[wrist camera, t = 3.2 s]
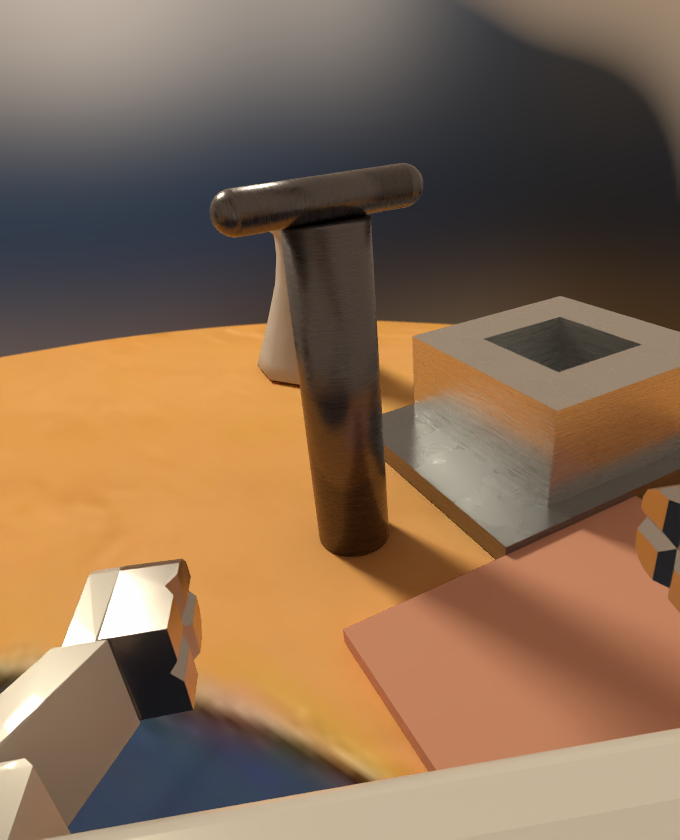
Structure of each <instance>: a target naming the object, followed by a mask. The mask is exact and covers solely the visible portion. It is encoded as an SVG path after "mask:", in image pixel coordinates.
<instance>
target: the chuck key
mask: <svg viewBox="0 0 680 840" xmlns="http://www.w3.org/2000/svg"><path fill="white" fill-rule="evenodd" d="M422 189H423V179H422V176H421V174H420V172H419V171H418V170H417V169H416V168H415V167H414V166H412V165H410V164H406V163H401V164H393V165H386V166H380V167H373V168H367V169H360V170H353V171H346V172H339V173H332V174H325V175H319V176H312V177H305V178H298V179H291V180H284V181H278V182H271V183H264V184H257V185H251V186H245V187H237V188H230V189H226V190H223V191H221V192H219V193H218V194H217V195H216V196H215V197H214V199H213V201H212V203H211V207H210V217H211V220H212V223H213V225H214V226H215V228H216V229H217V230H218V231H219V232H221V233H222V234H224V235H226V236H229V237H241V236H247V235H253V234H258V233H264V232H269V231H275V230H280V237H281V244H282V252H283V260H284V267H285V275H286V283H287V291H288V298H289V306H290V314H291V321H292V329H293V337H294V344H295V352H296V360H297V367H298V375H299V383H300V390H301V398H302V406H303V413H304V421H305V429H306V437H307V444H308V452H309V460H310V467H311V475H312V483H313V490H314V498H315V506H316V513H317V521H318V529H319V536H320V541H321V543H322V545H323V546H324V547H325V548H326V549H327V550H329V551H330V552H332V553H335V554H338V555H342V556H362V555H366V554H369V553H371V552H374V551H375V550H377V549H379V548H380V547H381V546H382V545H383V544H384V543H385V542H386V540H387V538H388V535H389V526H388V508H387V491H386V474H385V457H384V440H383V423H382V405H381V388H380V371H379V354H378V337H377V320H376V302H375V285H374V268H373V251H372V234H371V217H370V216H369V215H366V214H370V213H376V212H381V211H386V210H392V209H397V208H404V207H407V206H410V205H412V204H413V203H415V202H416V201H417V200H418V198H419V197H420V195H421V193H422Z"/></svg>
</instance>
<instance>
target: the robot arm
mask: <svg viewBox="0 0 680 840" xmlns="http://www.w3.org/2000/svg"><path fill="white" fill-rule="evenodd" d="M641 509H642V511H643V512H644V513H645V515H646V516H647V518H646V519H645V520H644V521H643V522H642V523H641V525H640V526H639V527H638V528H637V533H636V541H635V545H636V550H637V555H638V559H639V561H640V563H641V565H642V567H643V569H644V570H645V572H646V573H647V574H648V575H649V577H650V578H651V579H652V580H653V581H655V582H657V583H659V584H662V585H664V586H666V587H668V600H669V601H670V602H671V603H672V604H673V606H674V607H675V608H676V609H677V610H678V611H679V613H680V484H678V485H672V486H665V487H659V488H652V489H648V490H647V492H646V493H645V495H644V496H643V500H642V505H641ZM190 577H191V576H190V573H189V570H188V567H187V564H186V561H184V560H183V559H176V560H168V561H160V562H153V563H145V564H137V565H129V566H124V567H117V568H109V569H102V570H94V571H93V572H92V573H91V574H90V575H89V576H88V577H87V580H86V583H85V585H84V588H83V591H82V593H81V596H80V599H79V601H78V604H77V606H76V609H75V612H74V614H73V617H72V620H71V622H70V625H69V628H68V630H67V633H66V635H65V638H64V641H63V643H62V646H61V647H56V648H52V649H51V650H49V651H48V652H47V653H46V654H45V655H44V656H43V657H42V658H40V659H39V660H38V661H37V662H36V663H35V664H34V665H33V666H31V667H30V668H29V669H28V670H27V671H26V672H25V673H24V674H23V675H21V676H20V677H19V678H18V679H17V680H16V681H15V682H14V683H12V684H11V685H10V686H9V687H8V688H7V689H6V690H5V691H3V692H2V693H1V694H0V840H680V728H676V729H670V730H665V731H659V732H653V733H648V734H642V735H636V736H630V737H625V738H619V739H613V740H608V741H602V742H596V743H590V744H585V745H579V746H573V747H567V748H562V749H556V750H550V751H545V752H539V753H533V754H527V755H522V756H516V757H510V758H504V759H499V760H493V761H487V762H481V763H476V764H470V765H464V766H458V767H453V768H447V769H441V770H435V771H430V772H424V773H418V774H412V775H407V776H401V777H395V778H390V779H384V780H378V781H372V782H367V783H361V784H355V785H350V786H344V787H338V788H332V789H327V790H321V791H315V792H309V793H304V794H298V795H292V796H287V797H281V798H275V799H269V800H264V801H258V802H252V803H247V804H241V805H235V806H229V807H224V808H218V809H212V810H207V811H201V812H195V813H189V814H184V815H178V816H172V817H166V818H161V819H155V820H149V821H144V822H138V823H132V824H126V825H121V826H115V827H109V828H104V829H98V830H92V831H86V832H81V833H75V834H71V833H70V832H69V830H68V828H67V827H68V826H69V824H70V823H71V822H72V820H73V819H74V817H75V816H76V814H77V813H78V812H79V810H80V809H81V807H82V806H83V804H84V803H85V802H86V800H87V799H88V797H89V796H90V794H91V793H92V792H93V790H94V789H95V787H96V786H97V784H98V783H99V782H100V780H101V779H102V777H103V776H104V775H105V773H106V772H107V770H108V769H109V767H110V766H111V765H112V763H113V762H114V760H115V759H116V757H117V756H118V755H119V753H120V752H121V750H122V749H123V747H124V746H125V745H126V743H127V742H128V740H129V739H130V737H131V736H132V735H133V733H134V732H135V730H136V729H137V727H138V726H139V725H140V721H139V720H144V719H149V718H155V717H160V716H165V715H170V714H175V713H180V712H186V711H191V710H194V701H195V693H196V685H197V677H198V674H197V670H196V667H195V663H194V659H195V658H196V656H197V655H198V654H199V653H200V650H201V640H202V629H201V616H200V609H199V605H198V601H197V597H196V596H195V595H194V594H193V593H191V592H190V591H189V584H190Z"/></svg>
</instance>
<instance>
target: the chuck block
mask: <svg viewBox="0 0 680 840" xmlns="http://www.w3.org/2000/svg"><path fill="white" fill-rule="evenodd" d="M412 337H413V373H414V404H412V405H409V406H406V407H403V408H400V409H397V410H394V411H390V412H387V413H384V414H382V423H383V440H384V457H385V461H386V462H387V463H388V464H389V465H390V466H391V467H393V468H394V469H395V470H396V471H397V472H398V473H399V474H401V475H402V476H403V477H404V478H405V479H406V480H407V481H408V482H410V483H411V484H412V485H413V486H414V487H415V488H416V489H417V490H419V491H420V492H421V493H422V494H423V495H424V496H425V497H426V498H428V499H429V500H430V501H431V502H432V503H433V504H434V505H435V506H437V507H438V508H439V509H440V510H441V511H442V512H443V513H444V514H446V515H447V516H448V517H449V518H450V519H451V520H452V521H453V522H455V523H456V524H457V525H458V526H459V527H460V528H461V529H462V530H464V531H465V532H466V533H467V534H468V535H469V536H470V537H471V538H473V539H474V540H475V541H476V542H477V543H478V544H479V545H481V546H482V547H483V548H484V549H485V550H486V551H487V552H488V553H490V554H491V555H492V556H493V557H494V558H495V559H499V558H501V557H503V556H505V555H507V554H510V553H512V552H514V551H516V550H518V549H520V548H523V547H525V546H527V545H529V544H531V543H534V542H536V541H538V540H540V539H542V538H545V537H547V536H549V535H551V534H553V533H555V532H558V531H560V530H562V529H564V528H566V527H569V526H571V525H573V524H575V523H577V522H580V521H582V520H584V519H586V518H588V517H590V516H593V515H595V514H597V513H599V512H601V511H604V510H606V509H608V508H610V507H612V506H615V505H617V504H619V503H621V502H623V501H625V500H628V499H630V498H632V497H634V496H637V497H639V498H641V499H642V500H643V496H644V495H645V493H646V492H647V490H648V489H652V488H659V487H665V486H672V485H678V484H680V332H678V331H674V330H671V329H668V328H664V327H661V326H657V325H655V324H651V323H648V322H644V321H641V320H638V319H635V318H631V317H628V316H625V315H621V314H618V313H615V312H612V311H608V310H605V309H602V308H598V307H595V306H592V305H588V304H585V303H582V302H578V301H575V300H572V299H568V298H565V297H562V296H559V297H556V298H552V299H548V300H545V301H541V302H537V303H534V304H530V305H526V306H522V307H519V308H515V309H511V310H508V311H504V312H500V313H497V314H493V315H489V316H486V317H482V318H479V319H475V320H471V321H467V322H463V323H460V324H456V325H452V326H449V327H445V328H441V329H438V330H434V331H430V332H427V333H423V334H419V335H415V336H412Z"/></svg>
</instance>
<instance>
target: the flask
mask: <svg viewBox="0 0 680 840" xmlns="http://www.w3.org/2000/svg"><path fill="white" fill-rule="evenodd" d="M270 232H271V233H272V234H273V235H274V239H275V246H276V254H277V259H276V283H275V288H274V293H273V298H272V303H271V308H270V313H269V318H268V323H267V327H266V331H265V335H264V339H263V344H262V348H261V352H260V357H259V362H258V367H259V368H260V369H261V370H262V371H263V372H264V374H265V375H266V376H267V377H268V378H269V379H270V380H274V381H280V382H286V383H293V384H299V385H300V383H299V375H298V367H297V360H296V352H295V344H294V337H293V329H292V321H291V314H290V306H289V298H288V291H287V283H286V275H285V267H284V260H283V252H282V244H281V237H280V230H275V231H270Z"/></svg>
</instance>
